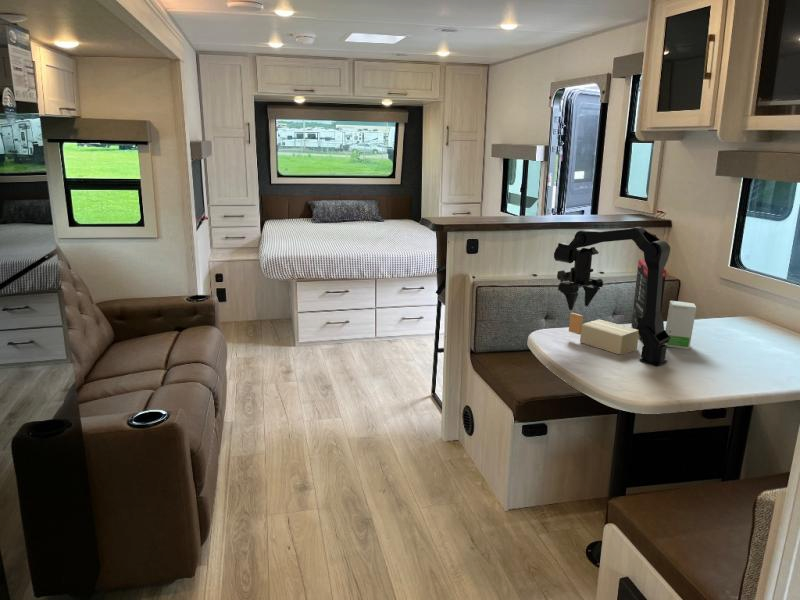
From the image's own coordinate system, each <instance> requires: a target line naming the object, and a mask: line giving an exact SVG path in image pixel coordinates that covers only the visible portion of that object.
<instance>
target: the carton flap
mask: <svg viewBox="0 0 800 600" xmlns="http://www.w3.org/2000/svg"><path fill="white" fill-rule="evenodd" d="M583 319H584V315H582V314H578V313H576V312H570V315H569V325H568V332H569V333H573V334H576V335H579V336H580V340H579V342H580V343H581V342H582V343H583V344H586V345H588V346H591V347H594V348H598V349H600V348H601V350H603V349H604V351H607V352H610V353H613V354H617V355H619V354H621V348H622V340H623V336H622V335H618V334H615V333H611V332H608V331H605V330H601V329H598V328H594V327H591V326H587V325H584V323H583ZM582 343H581V344H582Z"/></svg>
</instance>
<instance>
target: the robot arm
mask: <svg viewBox="0 0 800 600" xmlns="http://www.w3.org/2000/svg"><path fill="white" fill-rule="evenodd" d="M574 234H575V235H574V238H573V239H572V240H571V242H569V243H565V242H558V243H557V247H556V248H555V251H554V252H553V259H554V260H555V261H556V262H560V263H566V264H567V263H568V264H572V263H574V264H573V265H574V266H573V267H571V268H570V271H565V270H558V271H557V274H556V279H558V281H560V282H559V283H558V285H557V291H559V292H560V293H562V294H563V295H564V296H565V299H566V304H567V307H568V310H570V311H573V309H574V308H575V303H576V301H577V299H578V296H579V290H580V289H579V288H583V290H584V306H585V307H589V305H590V303H592V301H593V299H594V298H595V295H596V294H597V293H598V292H599V290H600V289H601V288H602V287H603V286H604V281H603V279H602V278H599V277H595V276H591V273H592V272H594V268H592V262H593V256H594V255H598V254H599V251H598V250H597V249H596V247H595V246H594V245H598V244H601V243H607V242H608V243H609V242H618V241H627V240H628V241H629V240H630V241H633V242H634V243H635V245H636V246H637V248H638V249H639V250H640V251H642V252H643V260H645V263H646V266H647V268H648V275H647V289H646V303H645V313H644V315H642V316H640V317H638V326H637V329H638V333H639V335H640V336H641V338H642V340H641V341H642V348H641V354H640V357H641V358H639V362H642V363H646V364H650V365H652V366H655V367H659V366H662V365H664V364H666V363H668V360H666V356H667V347H668V346H667V345H665V344H666V343H668V342H669V340H670V336H669V335H668V334H667V332H666V331H665V330H666V329H665V325H664V318H663V315H662V312H661V313H660V308H661V294H662V281H663V269H665V268H666V265H667V262H668V261H669V257H670V253H671V246H670V245H669V243H668V242H667V241H665V240H662V239H660V238H659V237H657V236H656V235H654V234H653V233H651V232H649V231H648V230H647V229H645V228H644V227H642V226H635V227H631V228H622V229H612V230H611V229H610V230H600V229H591V228H589V229H585V230H584V229H583V230H579V231H577V232H576V233H574ZM590 246H593V247H590ZM588 247H590V248H588Z"/></svg>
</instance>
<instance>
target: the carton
mask: <svg viewBox="0 0 800 600" xmlns="http://www.w3.org/2000/svg"><path fill="white" fill-rule="evenodd" d="M583 324H584V325H587V326H591V327H594V328H598V329H601V330H605V331H608V332H611V333H615V334H618V335H622V336H623V340H622V348H621V354H620V355H619V356H622V355H624V354H628V353H631V352H633V351H635V350H638V345H639V344H638V343H639V333H638V330H637V329H633V328H632V327H629V326H625V325H621V324H618V323H614V322H611V321H607V320H603V319H595V320H591V321H588V322H585V323H583Z"/></svg>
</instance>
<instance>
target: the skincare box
mask: <svg viewBox="0 0 800 600" xmlns="http://www.w3.org/2000/svg"><path fill="white" fill-rule="evenodd" d="M696 312H697V306H696V304H695V303H694V302H693V303H692V302H687V301H678V300H670V301H669V307H668V312H667V319H666V325H665V329H664V330H665V331H666V332H667V334H668V335H669V336H670V340H669V342H668V343H666V344H665V345H667V347H671V348H678V349H685V350H689V349H690V346H691V341H692V337H693V336H692V334H693V330H694V324H695V323H694V322H695V319H696Z"/></svg>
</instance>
